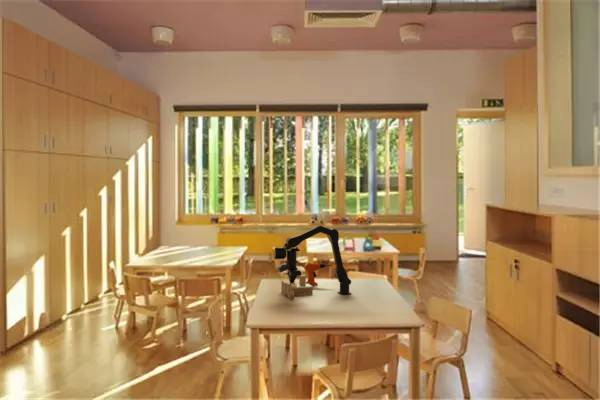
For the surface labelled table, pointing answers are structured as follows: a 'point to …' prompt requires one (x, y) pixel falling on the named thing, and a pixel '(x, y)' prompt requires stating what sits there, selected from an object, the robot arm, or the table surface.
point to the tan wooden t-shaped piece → (294, 290)
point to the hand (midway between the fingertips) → (291, 285)
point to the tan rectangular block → (293, 285)
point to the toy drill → (311, 274)
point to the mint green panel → (303, 282)
